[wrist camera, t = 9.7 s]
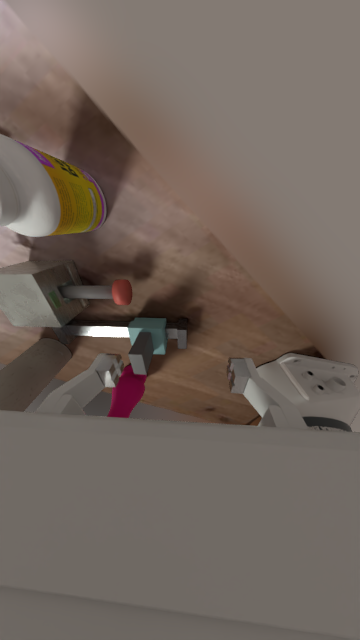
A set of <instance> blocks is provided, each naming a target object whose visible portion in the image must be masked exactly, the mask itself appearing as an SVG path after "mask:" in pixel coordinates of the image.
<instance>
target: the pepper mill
mask: <svg viewBox="0 0 360 640" xmlns="http://www.w3.org/2000/svg"><path fill="white" fill-rule="evenodd" d="M146 377H147V375H143V374H134V372H133V368H132V365H129V366H126V367H125V368H124V369H123V372H122V374H121V377H119V381H118V383H117V385H116V387H113V390H112V404H111V409H110V411H109V414H108V416H107V417H119V418H129V415H130V413H131V411H132V410H133V408H134V407H135V405H136V404H137V403H138V402H139V401H140V399H141V398H142V396H143V393H144V391H145V386H144V383H145V381H146Z"/></svg>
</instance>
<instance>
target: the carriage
mask: <svg viewBox="0 0 360 640" xmlns="http://www.w3.org/2000/svg"><path fill="white" fill-rule="evenodd" d="M165 326H166V318H135V319H134V321H131V322H130V324H129V326H128V327H127V329H128V333H129V337H130V340H131V344H132V348H131V350H130V352H129V354H128V355H129V358H130V362H131V365H132V368H133V372H134V374H143V375H147V372H148V368H149V365H150V362H151V359H152V356H153V354H165V352H166V348H167V341H168V338H166V333H165Z"/></svg>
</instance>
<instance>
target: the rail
mask: <svg viewBox="0 0 360 640" xmlns="http://www.w3.org/2000/svg"><path fill="white" fill-rule="evenodd" d="M129 324H130V322H127V321H87V320H74V319H71V320H70V321H69V322H68V323H66V324H65V325H64V326H63V327H52V329H53V330H54V332H55V334H56V335H57V337H58V339H59V340H60V342H61V344H70V343H71V342H72V341H73V340H74V339H75V338H76V337H77V336H78V335H80V336H109V337H129V333H128V329H127V327H128V326H129ZM165 333H166V338H168V339H178V348H179V349H187V319H179V321H178V323H167V322H166V326H165Z"/></svg>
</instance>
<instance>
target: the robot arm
mask: <svg viewBox="0 0 360 640" xmlns="http://www.w3.org/2000/svg"><path fill="white" fill-rule="evenodd" d="M121 358H122V357H121V355H120V354H105V353H100V354H99V355H98V356H97V357H96V359H95V360H94V362H93V363H92V364H91V366H90V367H89V369H88V370H87V371H84V372H82V373H81V374H79V375H78V376H76V377H74V378H73V379H71V380H70V381H68V382H67V383H65V384H64V385H62V386H61V387H59V388H57V389H56V390H54V391H53V392H51V393H50V394H49V395H48V396H47V398H46V399H45V400H44V401H43V403H42V404H41V405H40V406H39V408H38V409H37V410H36V411H35V412H23V411H7V410H0V640H360V433H359V432H352V430H351V428H350V425H351V424H352V422H353V420H354V418H355V416H356V415H357V413H358V411H359V409H360V391H359V390H358V388H357V387H356V386H355V384H354V382H355V380H356V379H357V377H358V369H357V367H356V366H355V365H353V364H348V363H343V362H337V361H332V360H327V359H321V358H316V357H310V356H305V355H300V354H294V353H288V354H285V355H283V356H282V357H280V358H279V359H277V360H276V361H273V362H270V363H267V364H265V365H262V366H260V367H258V368H256V367H255V365H254V363H253V360H252V359H251V358H229V360H228V363H229V364H228V365H227V378H228V379H229V380H230V381H229V387H230V391H231V393H242V394H243V395H244V396H245V397H246V398H247V399H248V401H249V402H250V403H251V404H252V405H253V407H254V408H255V409H256V410H257V412H258V413H259V414H260V415H261V416H262V420H261V421H260V423H259V425H258V426H248V425H231V424H214V423H198V422H183V421H167V420H150V419H135V418H119V417H103V416H102V417H101V416H87V415H86V414H85V412H84V411H83V410H82V408H83V407H84V406H85V405H86V404H87V403H88V402H90V400H92V399H93V398H94V397H95V396H96V395H97V394H98V393H99V392H100V391H101V390H102V389H104V388H105V387H116V385H117V383H118V381H119V376H120V375H121V374H122V372H123V369H124V363H123V361H122V360H121Z"/></svg>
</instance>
